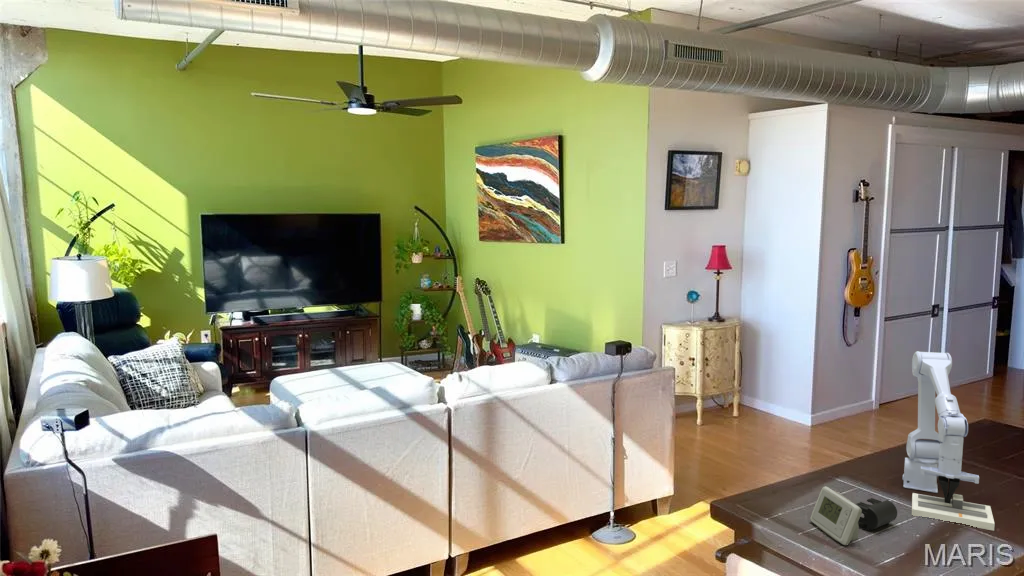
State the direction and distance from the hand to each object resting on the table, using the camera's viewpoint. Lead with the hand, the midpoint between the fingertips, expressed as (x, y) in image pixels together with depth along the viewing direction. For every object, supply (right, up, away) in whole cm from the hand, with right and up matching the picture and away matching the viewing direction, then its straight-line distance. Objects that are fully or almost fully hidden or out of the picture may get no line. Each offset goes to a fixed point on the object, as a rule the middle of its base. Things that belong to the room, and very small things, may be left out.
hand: (947, 502), depth 211 cm
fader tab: (+2, -1, -1) cm, 3 cm away
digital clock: (-39, -5, -13) cm, 41 cm away
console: (+1, -3, 0) cm, 4 cm away
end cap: (-25, -5, -8) cm, 27 cm away
